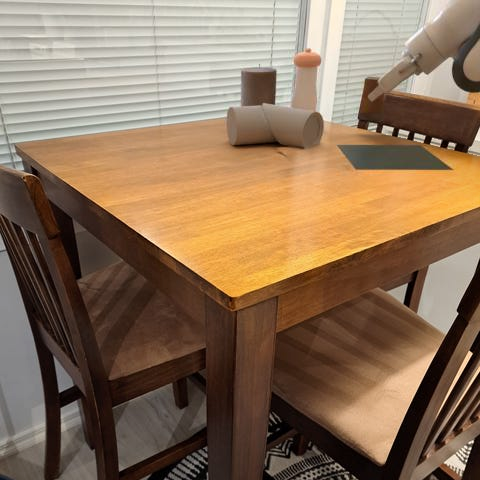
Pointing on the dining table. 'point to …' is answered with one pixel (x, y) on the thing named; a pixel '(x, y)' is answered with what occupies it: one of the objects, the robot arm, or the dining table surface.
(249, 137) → the l-shaped cylinder
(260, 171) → the dining table surface
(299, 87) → the pepper shaker
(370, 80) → the brown upright block
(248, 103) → the pillar candle
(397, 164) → the board
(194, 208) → the dining table surface
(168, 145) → the dining table surface
